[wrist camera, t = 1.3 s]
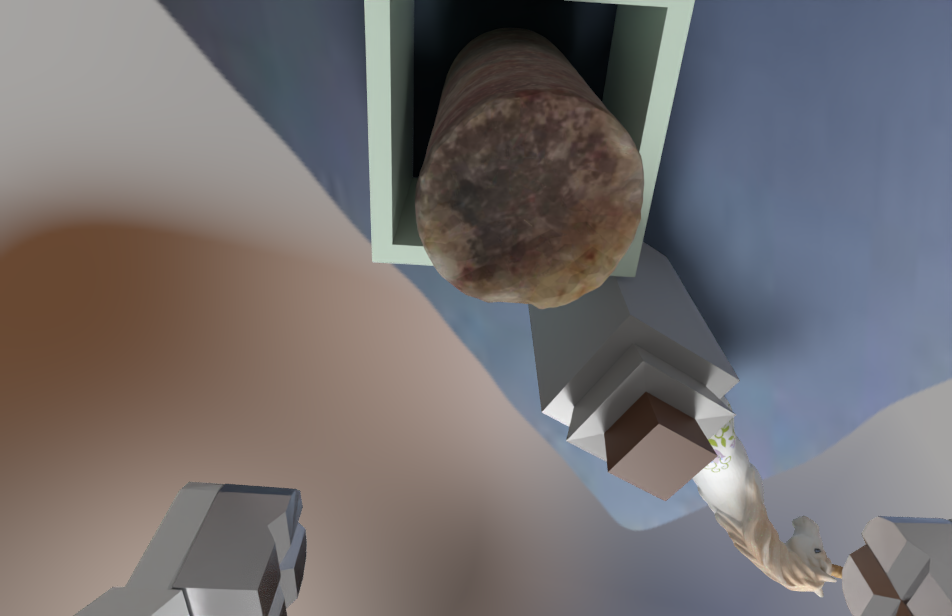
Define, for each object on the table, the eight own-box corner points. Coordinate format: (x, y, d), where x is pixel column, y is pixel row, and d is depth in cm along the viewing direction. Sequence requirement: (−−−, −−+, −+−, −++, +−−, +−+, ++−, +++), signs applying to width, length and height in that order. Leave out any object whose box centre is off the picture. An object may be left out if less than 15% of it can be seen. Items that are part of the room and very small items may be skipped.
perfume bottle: (586, 205, 39) (654, 375, 23) (666, 257, 41) (779, 447, 25) (525, 283, 42) (550, 480, 26) (603, 328, 44) (668, 538, 28)
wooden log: (482, -7, 33) (480, 44, 16) (597, 59, 35) (711, 170, 17) (423, 122, 36) (370, 278, 19) (531, 176, 38) (570, 365, 21)
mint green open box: (641, -29, 32) (699, -20, 24) (601, 204, 39) (635, 277, 30) (395, -46, 32) (363, -43, 23) (397, 191, 39) (372, 261, 30)
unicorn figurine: (730, 486, 52) (801, 641, 40) (579, 351, 45) (612, 491, 33) (807, 440, 49) (906, 592, 37) (659, 290, 42) (725, 419, 31)
